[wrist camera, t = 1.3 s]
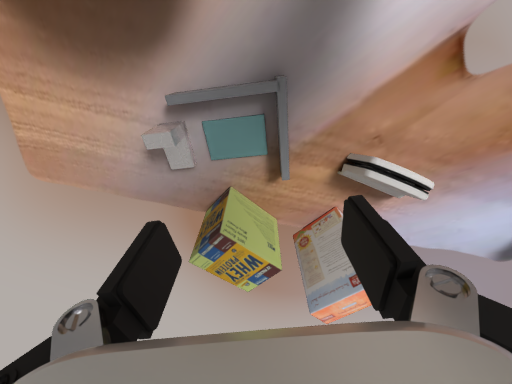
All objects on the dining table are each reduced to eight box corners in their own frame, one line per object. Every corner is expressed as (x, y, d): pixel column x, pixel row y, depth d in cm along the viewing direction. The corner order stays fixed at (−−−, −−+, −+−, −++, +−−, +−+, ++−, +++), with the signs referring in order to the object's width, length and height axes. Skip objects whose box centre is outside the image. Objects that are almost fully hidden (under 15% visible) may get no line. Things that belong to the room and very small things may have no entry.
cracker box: (305, 245, 57) (326, 326, 40) (291, 234, 55) (307, 314, 37) (349, 218, 52) (395, 298, 34) (336, 205, 50) (379, 283, 32)
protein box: (230, 185, 47) (219, 231, 34) (277, 219, 52) (283, 271, 39) (205, 211, 51) (186, 262, 38) (251, 240, 57) (248, 293, 43)
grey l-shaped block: (159, 123, 40) (141, 135, 33) (184, 120, 39) (170, 131, 33) (174, 165, 44) (160, 182, 38) (196, 163, 44) (186, 179, 38)
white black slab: (335, 172, 45) (364, 180, 35) (345, 152, 44) (377, 155, 34) (394, 196, 48) (435, 210, 39) (404, 178, 47) (449, 187, 38)
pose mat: (202, 121, 39) (201, 121, 39) (263, 114, 38) (264, 114, 38) (211, 159, 43) (211, 160, 43) (267, 153, 43) (267, 154, 42)
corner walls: (172, 89, 36) (163, 92, 33) (283, 75, 35) (286, 76, 32) (199, 179, 46) (194, 188, 43) (287, 170, 45) (289, 179, 41)
